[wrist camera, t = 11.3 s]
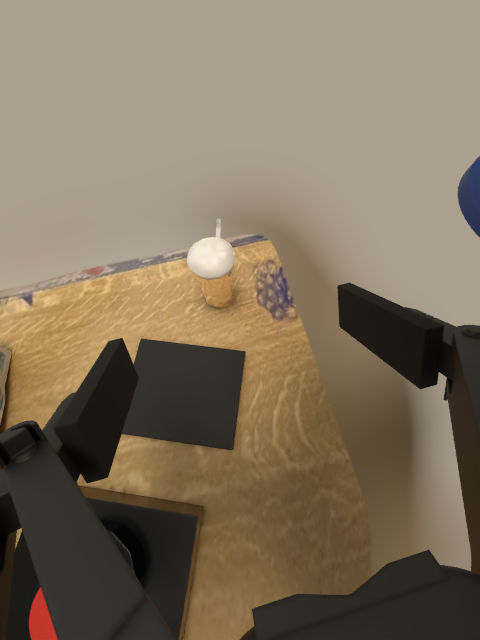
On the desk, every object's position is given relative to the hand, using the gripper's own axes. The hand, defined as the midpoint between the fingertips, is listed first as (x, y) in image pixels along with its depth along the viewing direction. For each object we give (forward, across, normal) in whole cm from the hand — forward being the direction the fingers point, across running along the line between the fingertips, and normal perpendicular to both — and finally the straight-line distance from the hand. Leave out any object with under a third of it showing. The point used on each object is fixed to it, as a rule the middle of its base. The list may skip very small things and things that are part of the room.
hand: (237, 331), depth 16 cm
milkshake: (+18, 0, +3) cm, 18 cm away
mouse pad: (+10, +6, +10) cm, 16 cm away
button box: (+1, +15, +19) cm, 24 cm away
